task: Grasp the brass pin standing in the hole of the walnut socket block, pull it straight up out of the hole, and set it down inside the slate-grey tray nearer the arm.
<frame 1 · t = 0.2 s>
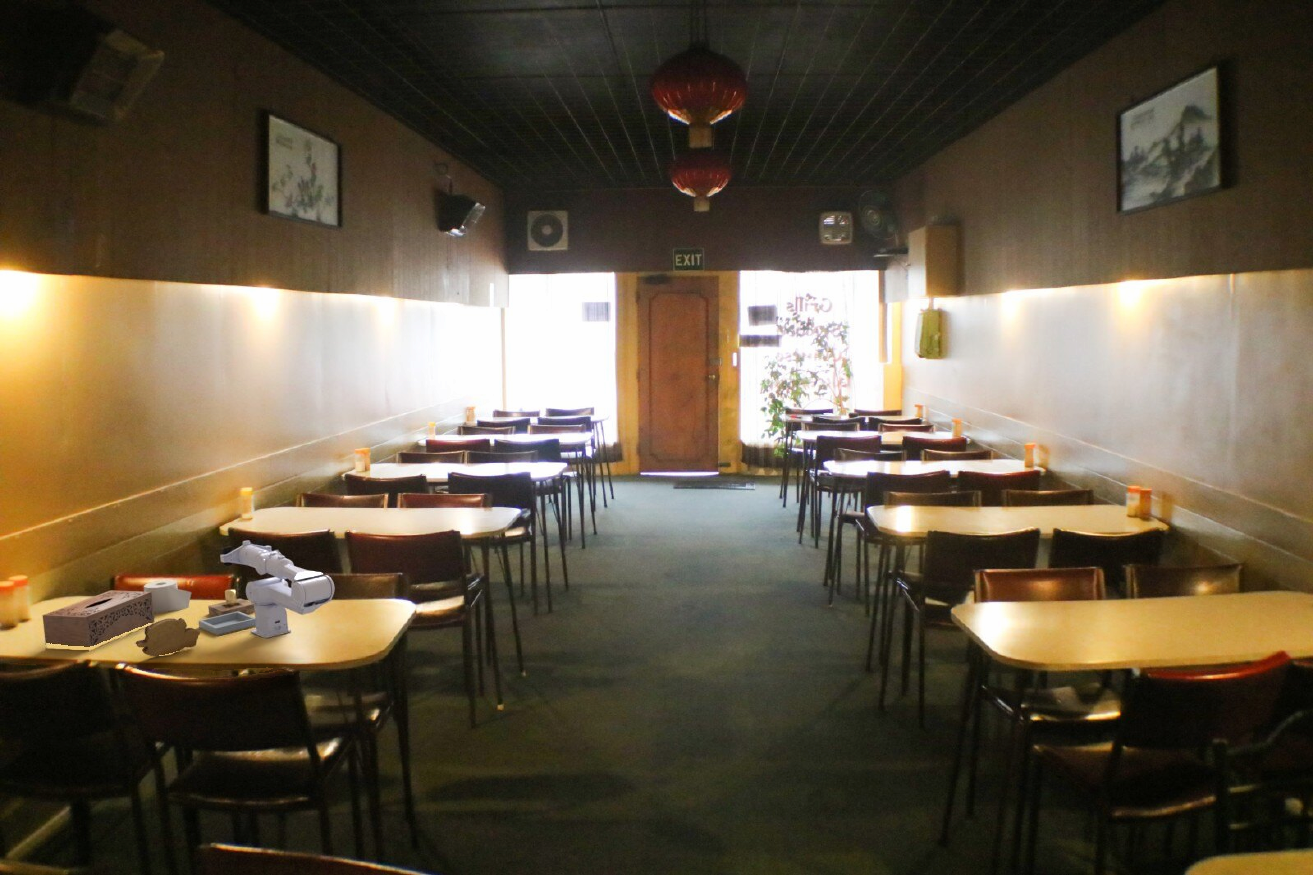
hand: (234, 549, 315), 22 cm above the table, tool horizontal, fingers open, 7 cm apart
tissue box cover: (102, 637, 306), on the table
toilet tissue: (167, 611, 331), on the table
coffee mug: (286, 599, 339), on the table
tray: (228, 627, 309), on the table
socket block: (232, 614, 323), on the table
wooden carving: (169, 655, 287), on the table
brass pin: (232, 612, 323), resting on socket block
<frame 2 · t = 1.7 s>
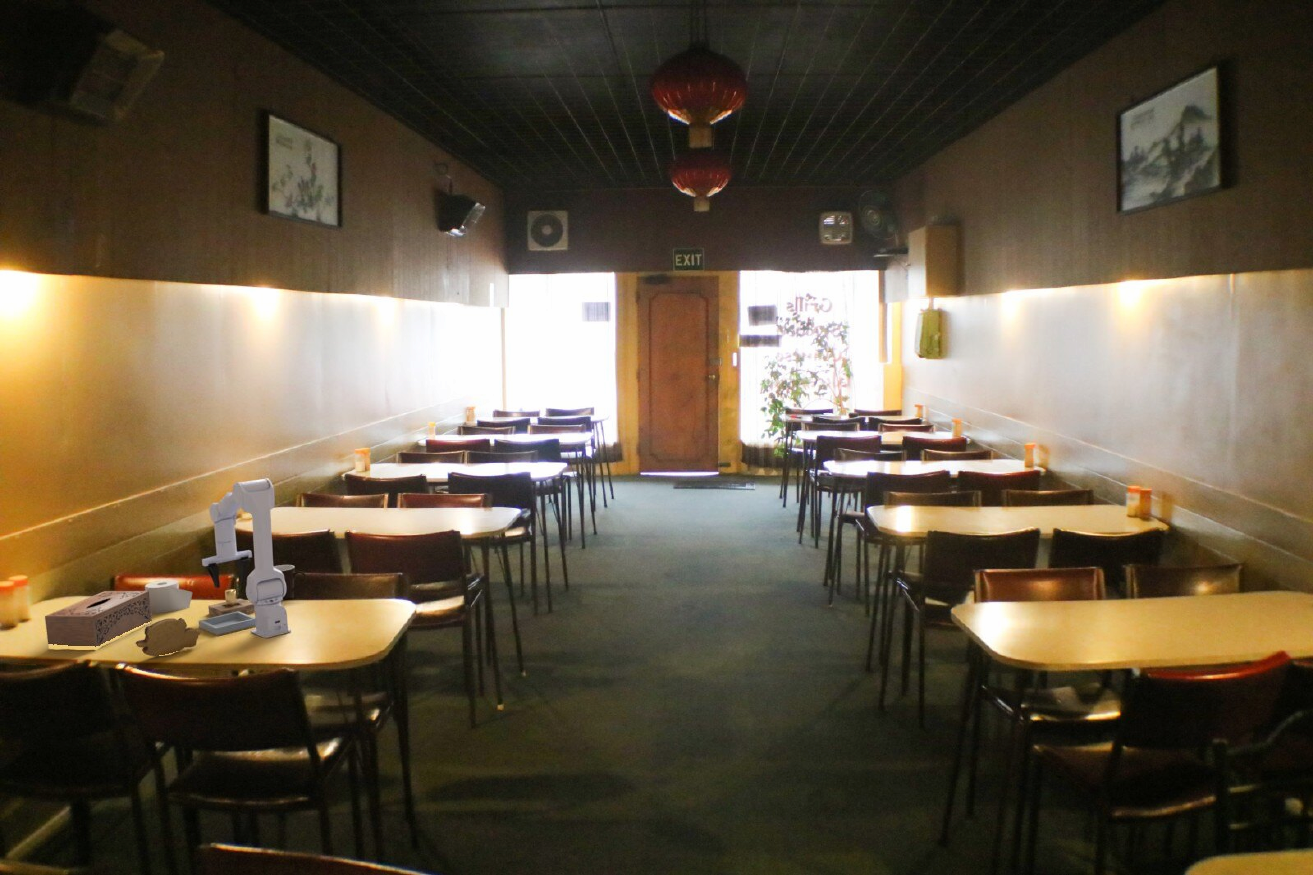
hand: (229, 584, 322), 9 cm above the table, tool pointing down, fingers open, 7 cm apart
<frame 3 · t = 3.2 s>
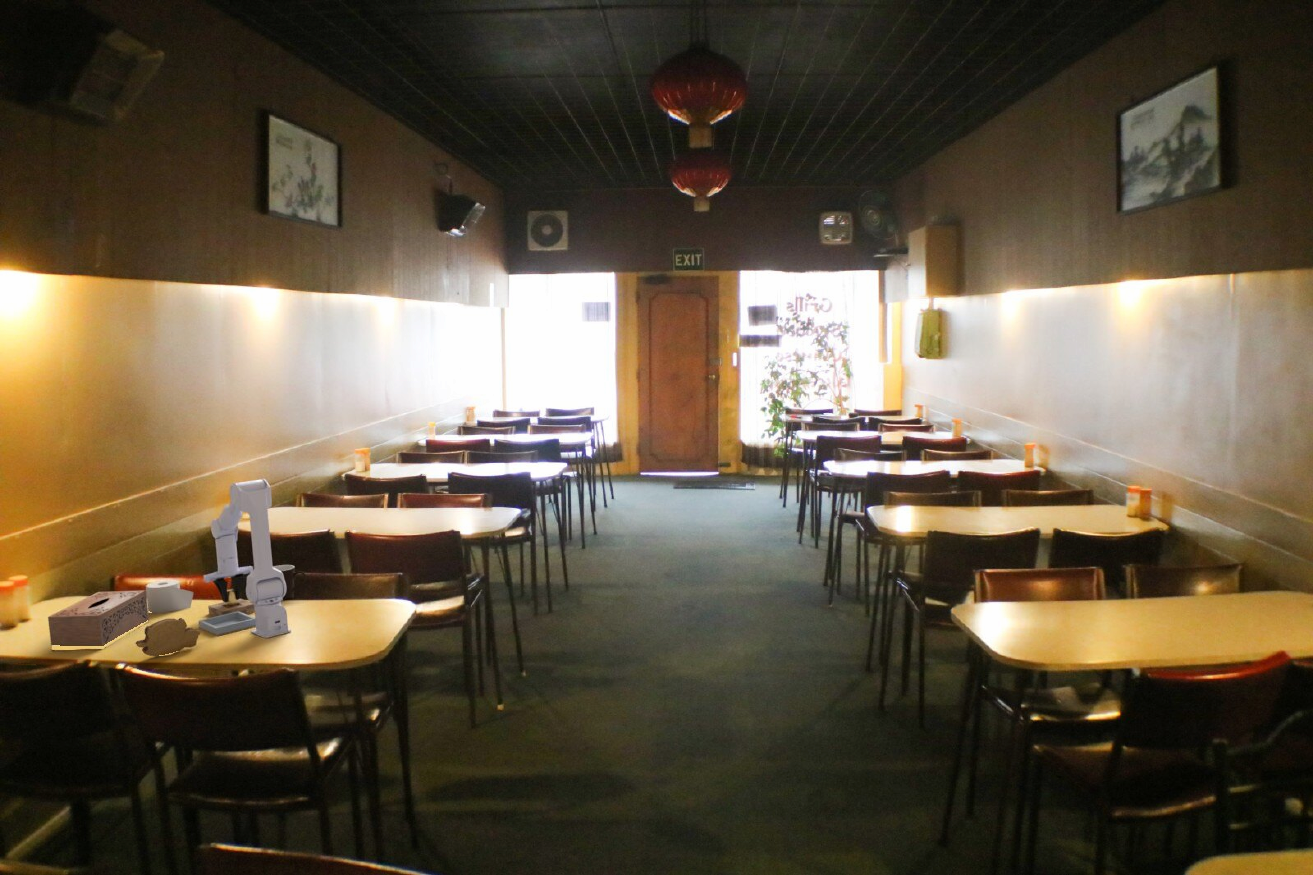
hand: (231, 600, 323), 4 cm above the table, tool pointing down, fingers closed on brass pin, 3 cm apart
brass pin: (232, 612, 323), resting on socket block, touching gripper
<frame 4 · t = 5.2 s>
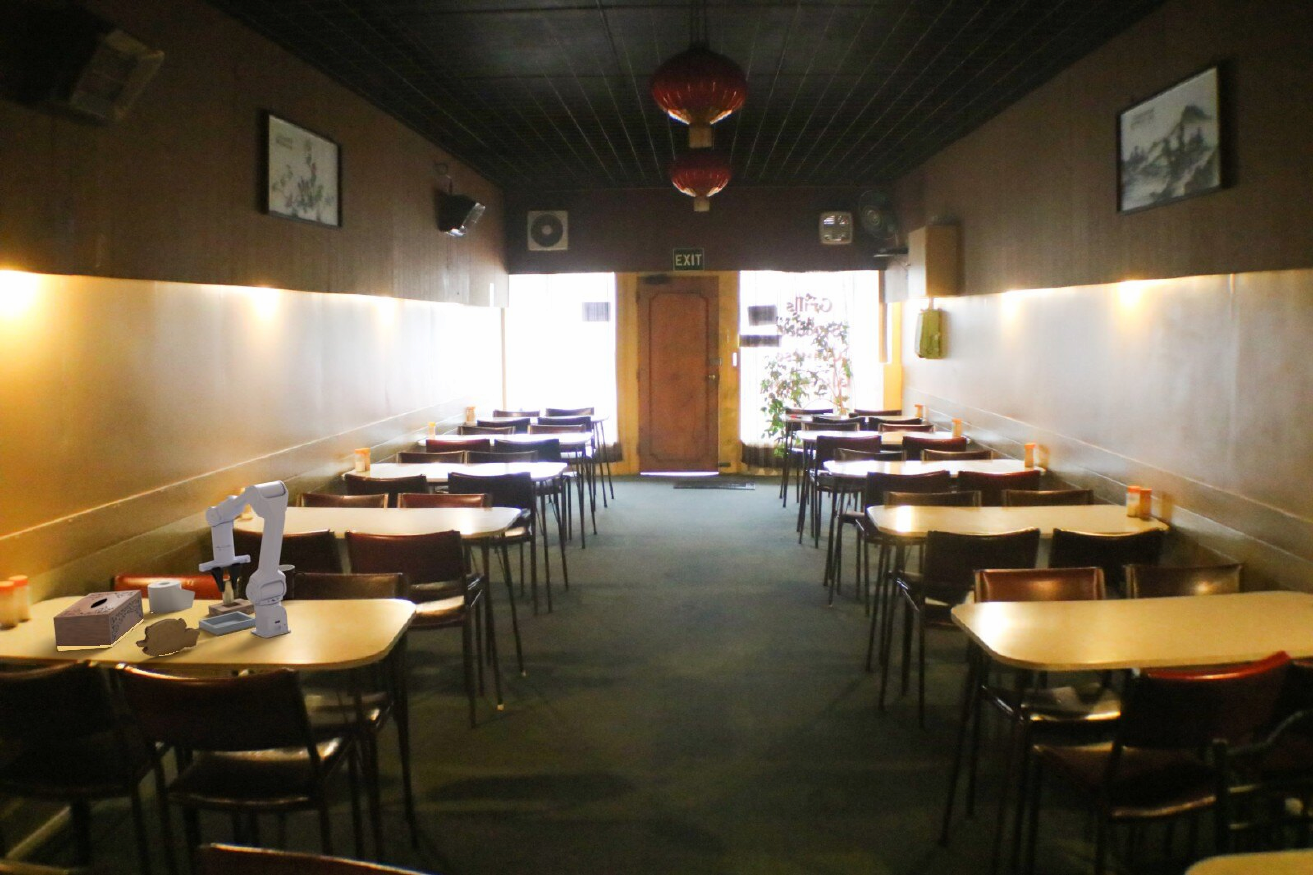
hand: (227, 590, 314), 10 cm above the table, tool pointing down, fingers closed on brass pin, 3 cm apart
brass pin: (228, 602, 315), point 6 cm above the table, touching gripper
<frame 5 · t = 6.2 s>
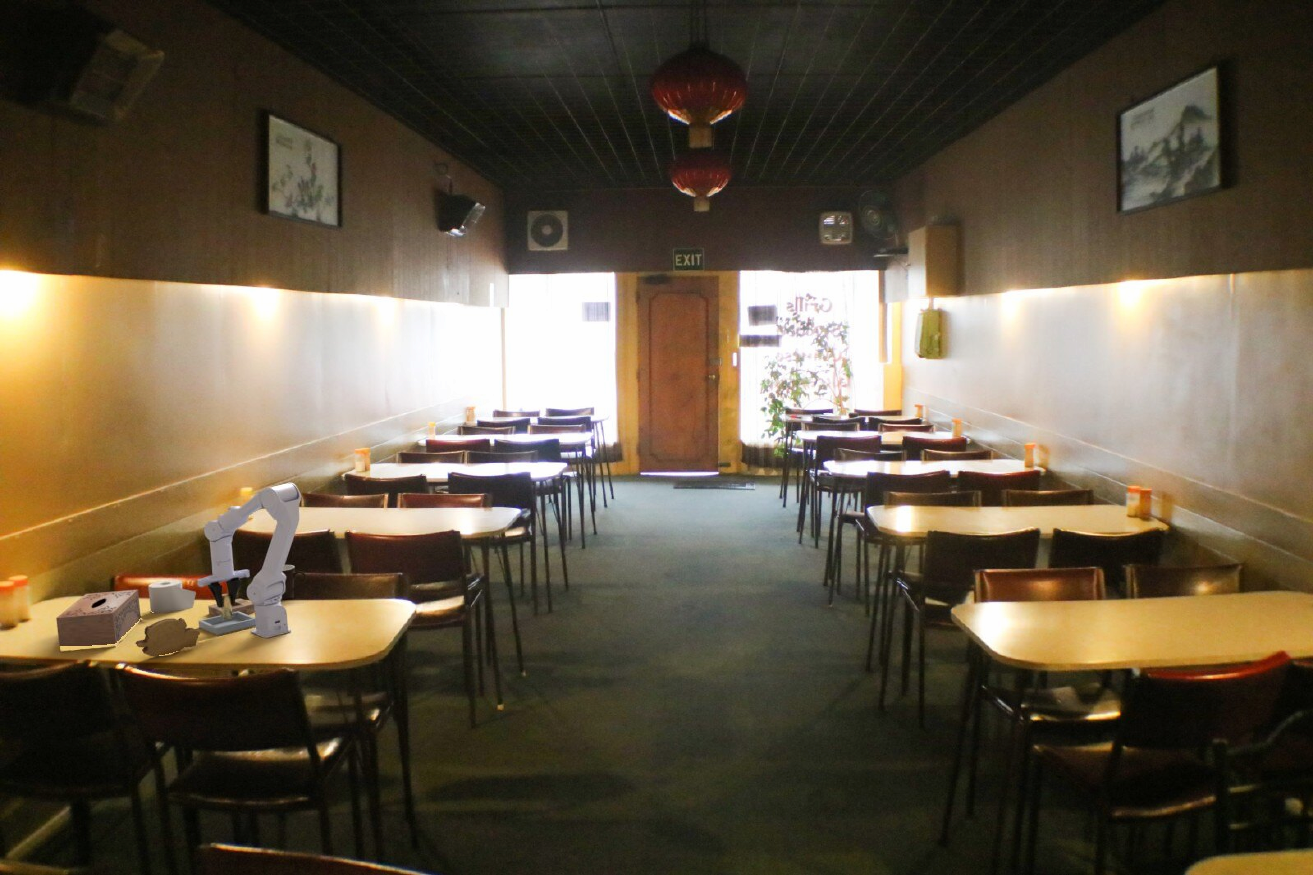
hand: (226, 605, 309), 7 cm above the table, tool pointing down, fingers closed on brass pin, 3 cm apart
brass pin: (227, 618, 309), point 3 cm above the table, touching gripper
when the fingers open (6 cm above the table, at t = 7.0 s): brass pin drops 2 cm, resting on tray.
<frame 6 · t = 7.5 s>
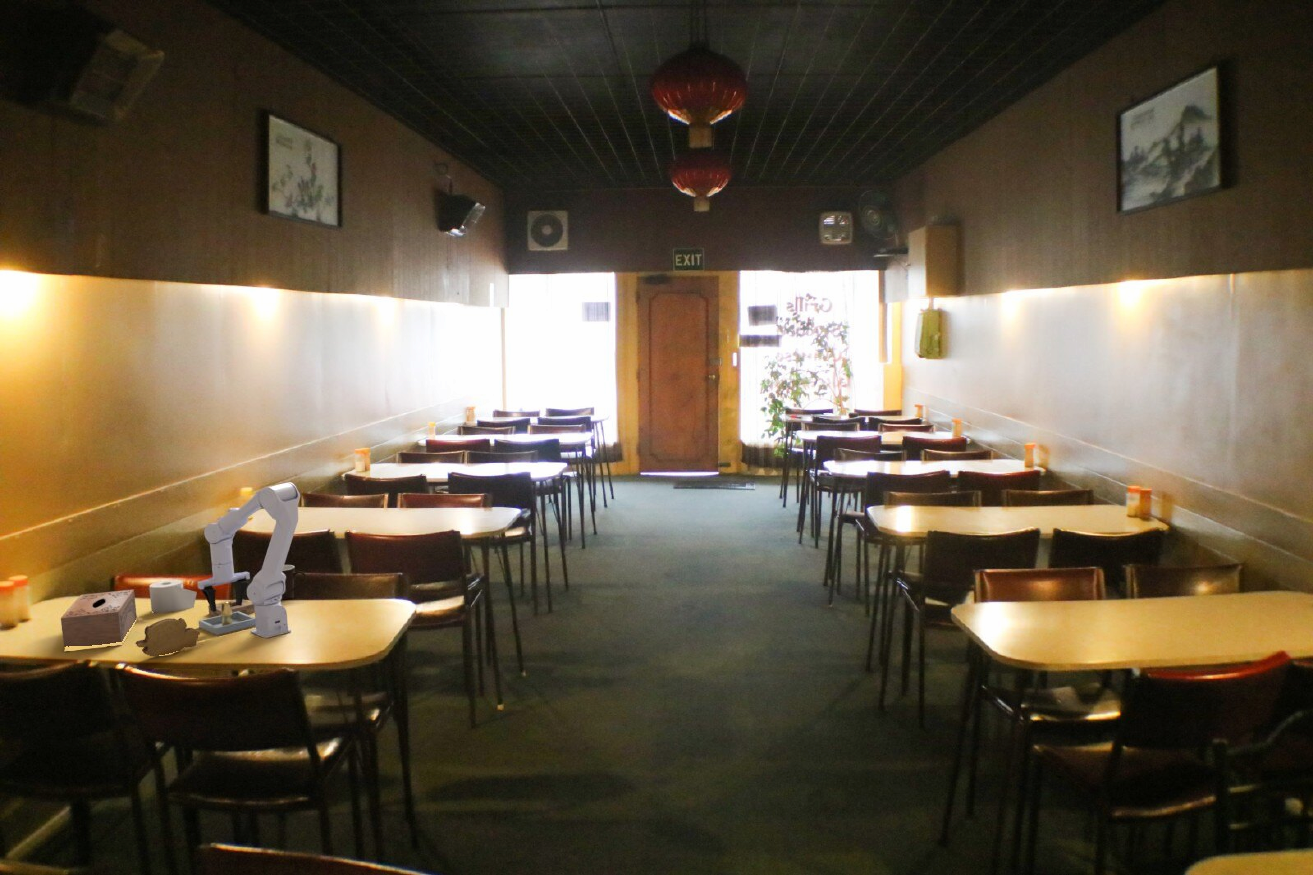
hand: (226, 607, 309), 6 cm above the table, tool pointing down, fingers open, 7 cm apart
brass pin: (227, 625, 309), point 1 cm above the table, touching tray
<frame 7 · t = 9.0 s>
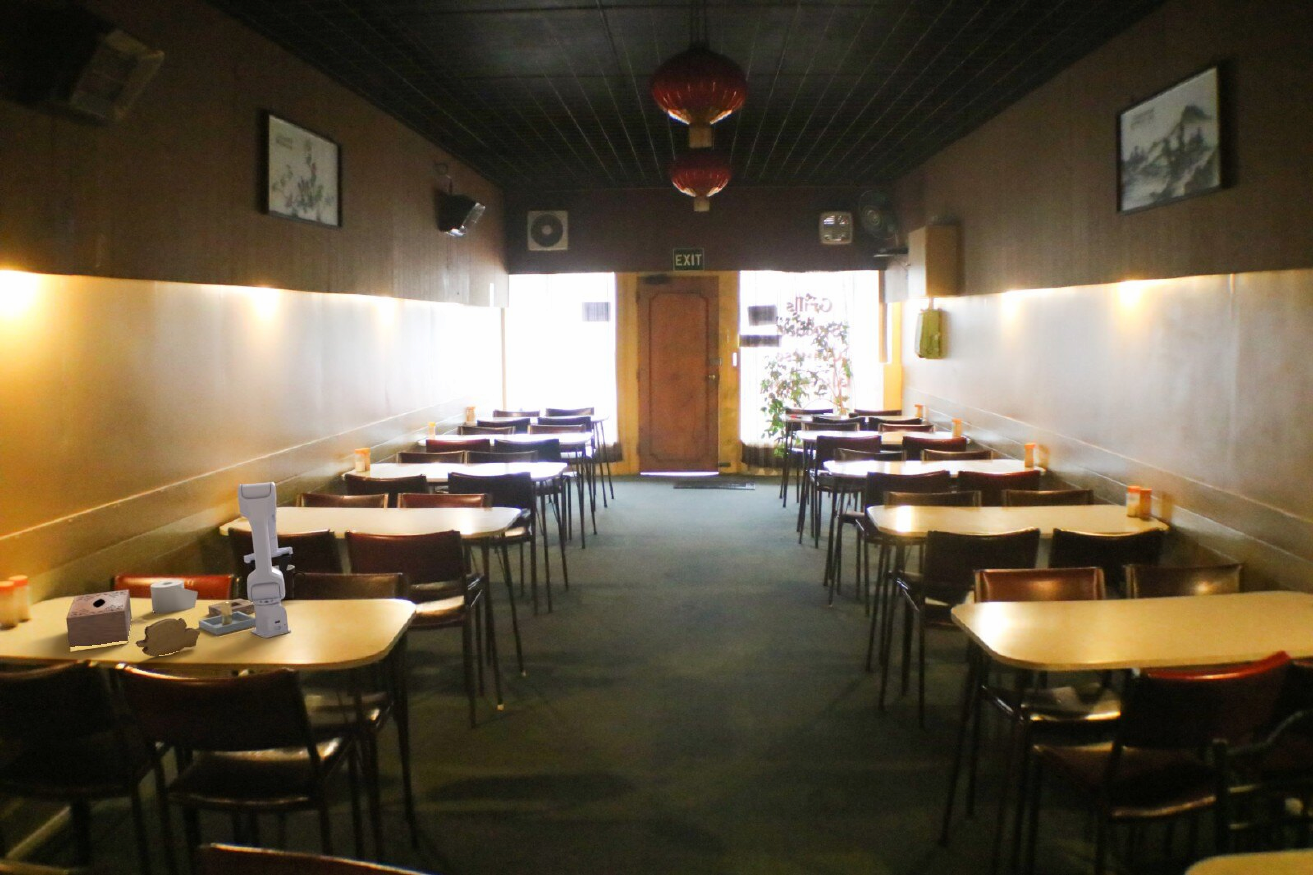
hand: (270, 581, 322), 10 cm above the table, tool pointing down, fingers open, 7 cm apart
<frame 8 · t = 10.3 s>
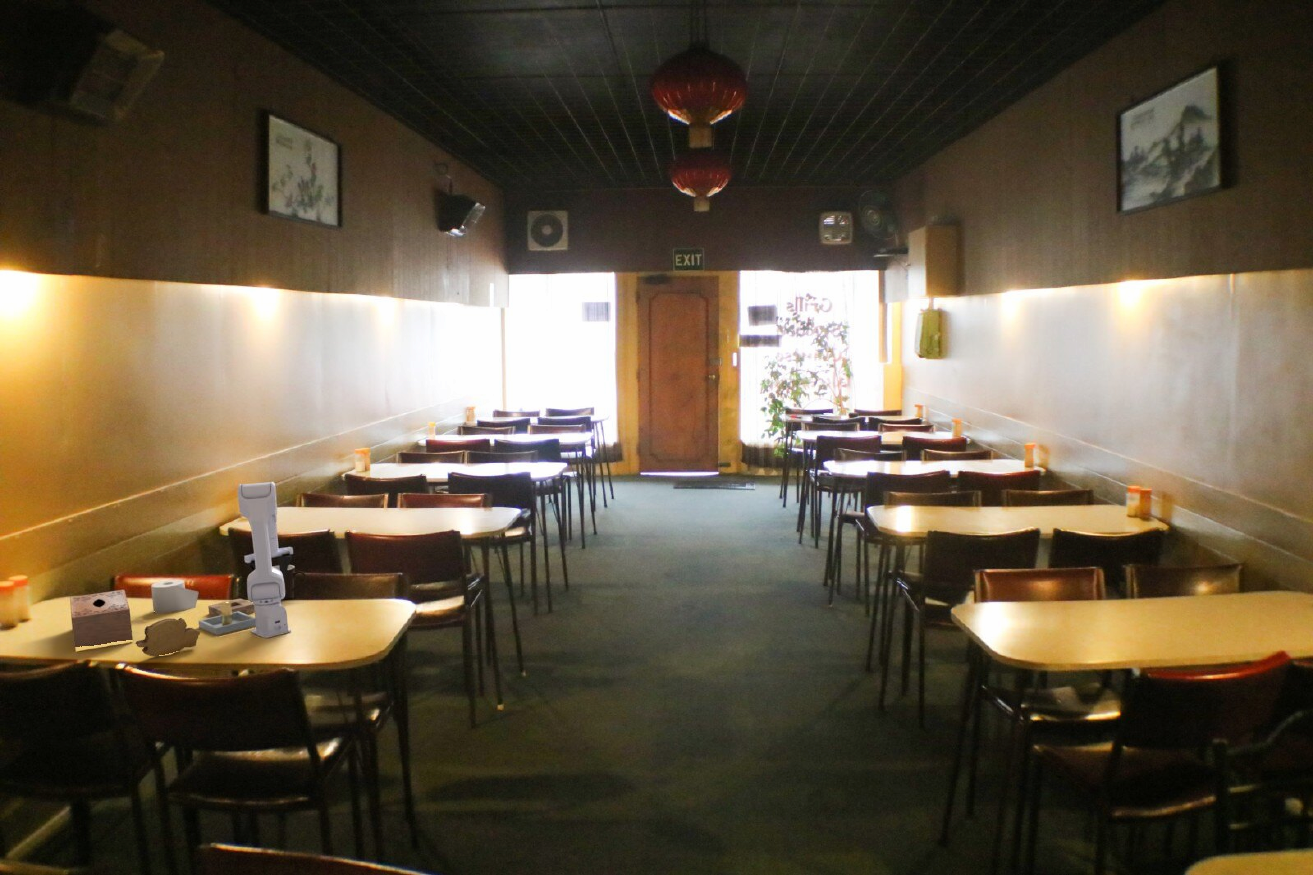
hand: (271, 581, 322), 10 cm above the table, tool pointing down, fingers open, 7 cm apart
at the end: brass pin inside the target area on the tray (0.1 cm from its centre), point 0.6 cm above the tray's base; the gripper is holding nothing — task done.
